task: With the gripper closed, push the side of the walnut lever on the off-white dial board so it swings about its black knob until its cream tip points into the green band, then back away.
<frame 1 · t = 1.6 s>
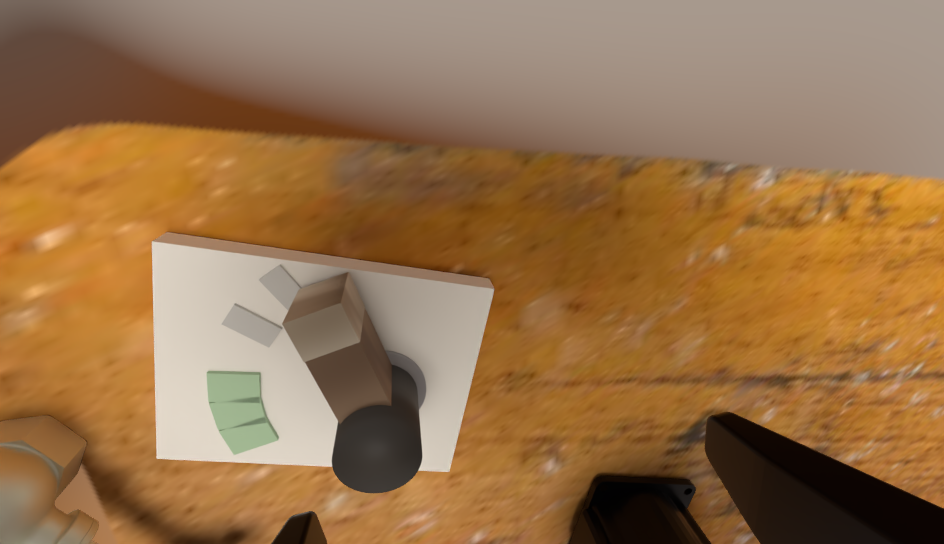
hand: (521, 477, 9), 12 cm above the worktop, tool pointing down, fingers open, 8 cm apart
lever: (358, 383, 17), point 4 cm above the worktop, hinge at -60.0°
dial board: (327, 359, 21), on the worktop
valve: (118, 492, 22), on the worktop
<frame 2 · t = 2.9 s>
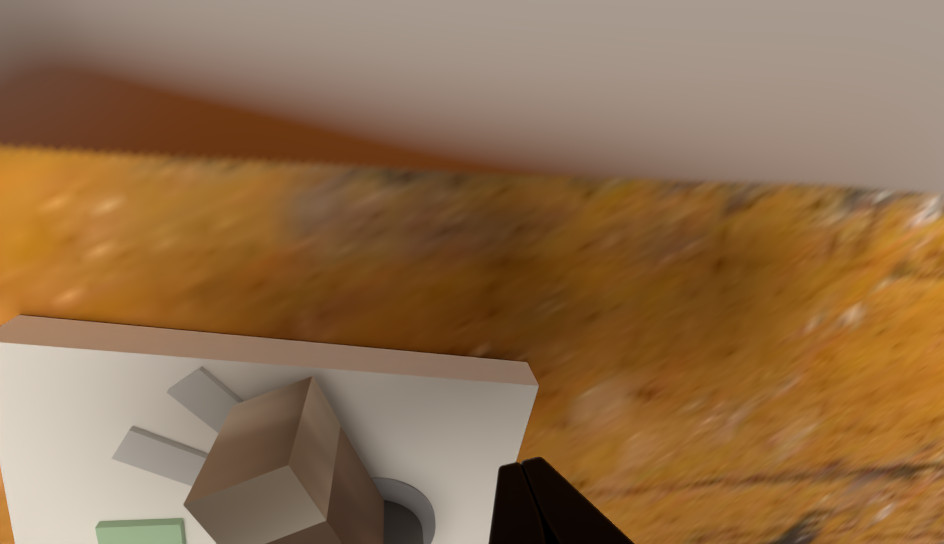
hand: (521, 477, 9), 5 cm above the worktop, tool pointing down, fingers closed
dial board: (290, 481, 14), on the worktop
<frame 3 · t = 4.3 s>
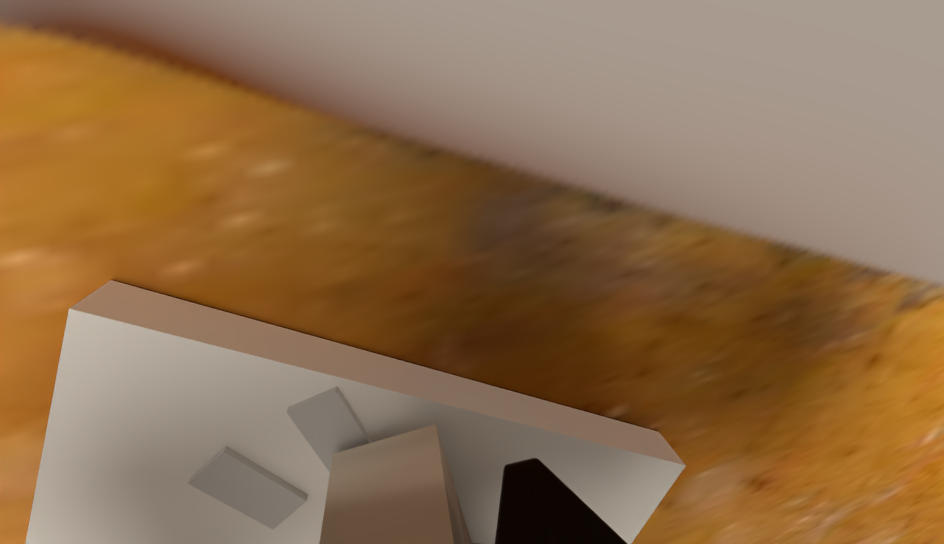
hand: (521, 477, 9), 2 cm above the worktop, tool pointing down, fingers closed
dial board: (362, 528, 12), on the worktop
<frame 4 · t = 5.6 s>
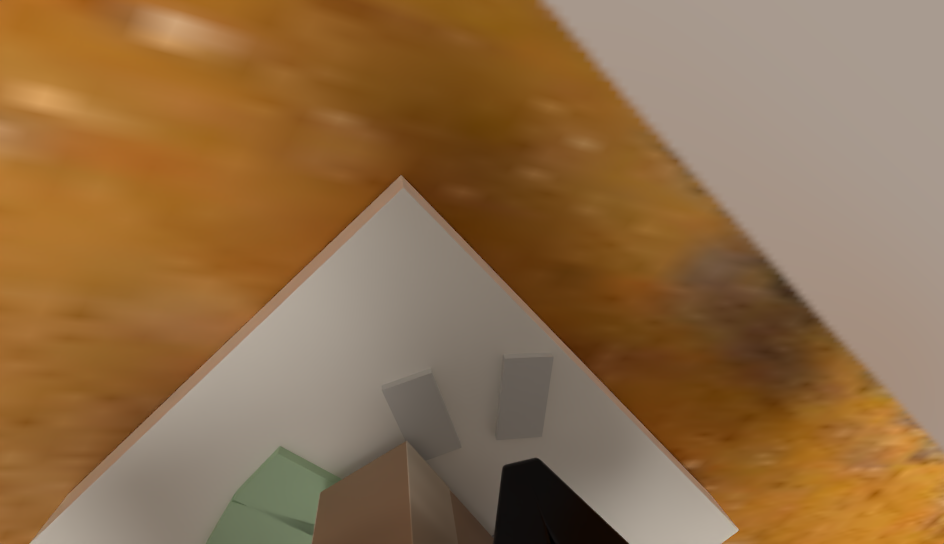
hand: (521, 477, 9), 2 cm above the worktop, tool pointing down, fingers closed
dial board: (441, 494, 12), on the worktop
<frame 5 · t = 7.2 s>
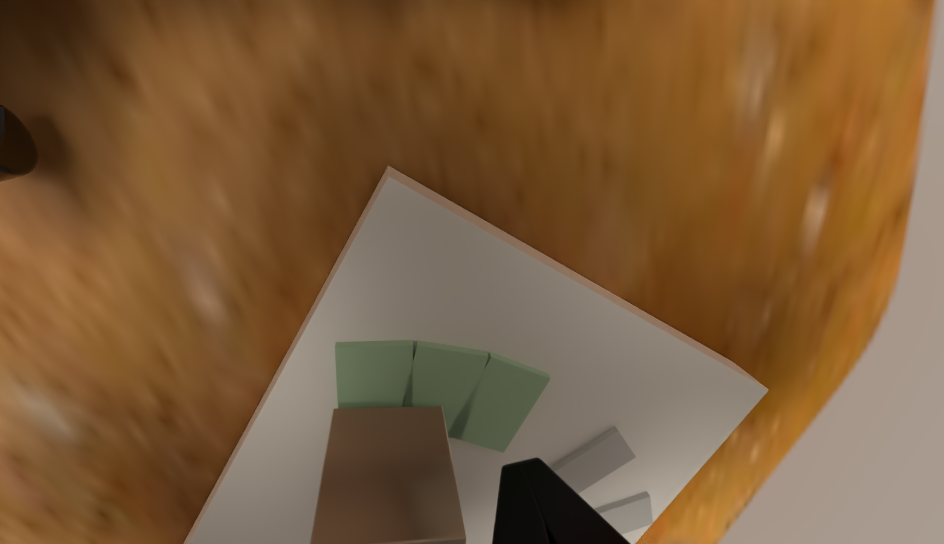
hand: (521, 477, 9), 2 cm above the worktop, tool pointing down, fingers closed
dial board: (442, 487, 12), on the worktop
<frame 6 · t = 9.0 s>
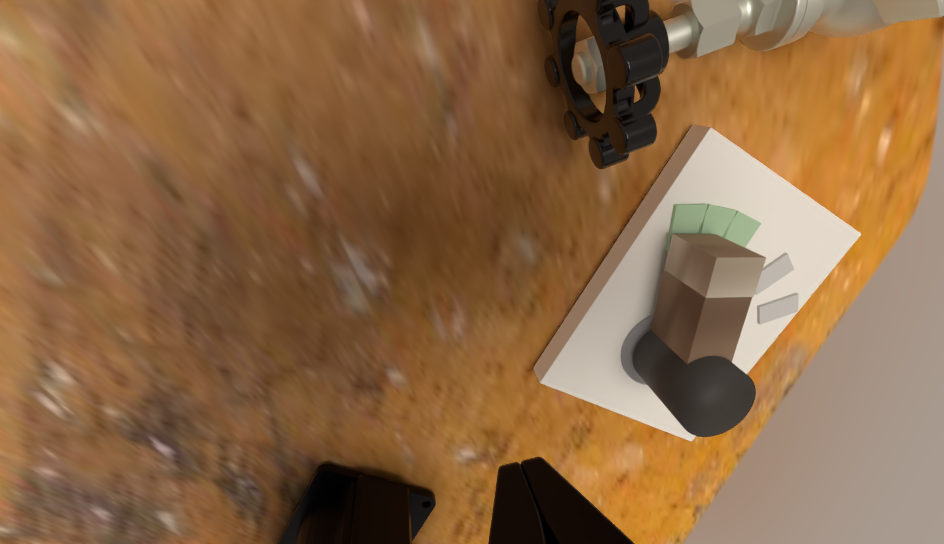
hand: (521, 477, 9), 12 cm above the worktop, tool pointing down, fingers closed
lever: (700, 333, 19), point 4 cm above the worktop, hinge at 25.7°
dial board: (684, 297, 22), on the worktop
valve: (686, 20, 18), on the worktop
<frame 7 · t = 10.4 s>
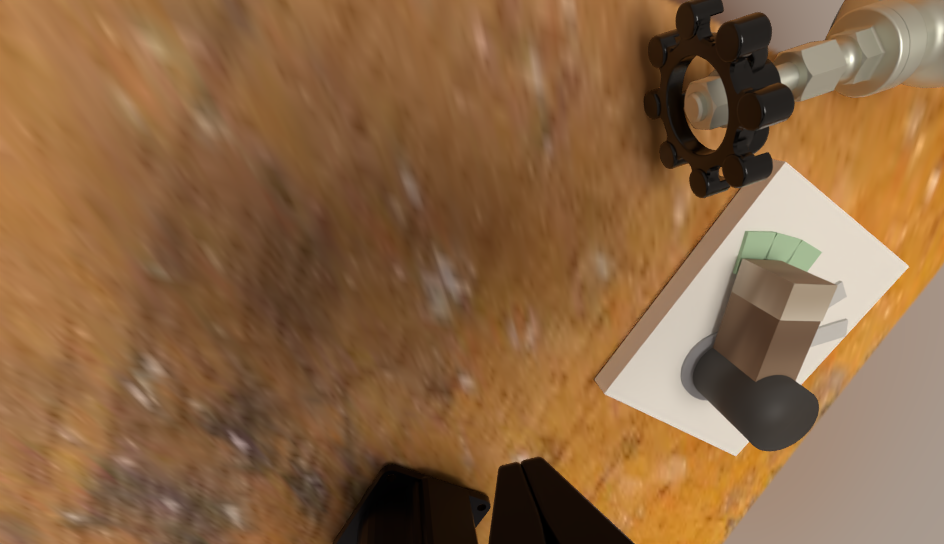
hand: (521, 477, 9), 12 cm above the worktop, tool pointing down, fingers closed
lever: (766, 353, 20), point 3 cm above the worktop, hinge at 25.7°
dial board: (740, 318, 23), on the worktop
valve: (773, 62, 19), on the worktop
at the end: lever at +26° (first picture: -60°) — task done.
